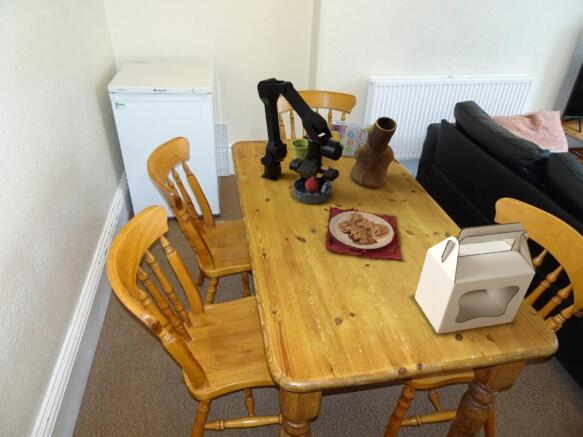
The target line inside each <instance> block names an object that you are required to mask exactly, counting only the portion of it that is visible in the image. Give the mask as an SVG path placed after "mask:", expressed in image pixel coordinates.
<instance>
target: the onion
mask: <svg viewBox="0 0 583 437" xmlns="http://www.w3.org/2000/svg"><path fill="white" fill-rule="evenodd" d="M316 177H317V176H316ZM316 177H315V176H312V177H311V178H310V179H308V180H307V181H306V183H305V188H306V190H307V191H308V192H310V193H311V194H314V193H315V192H317V191H318V190H319V180H318V179H317V178H316Z"/></svg>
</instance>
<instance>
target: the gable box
mask: <svg viewBox="0 0 583 437" xmlns="http://www.w3.org/2000/svg"><path fill="white" fill-rule="evenodd" d="M523 226H524V225H523V223H522V222H521V221H516V222H506V223H497V224H488V225H487V224H486V225H478V226H469V227H462V228H461V229H460V231H459V233H458V234H457V237H455V236H449V237H447V238H445V239H443V240H442V241H440V242H439V243H436V244H435V245H433V246H432V247H430V248H428V249H427V250H426V254H425V259H424V262H423V265H422V269H421V273H420V277H419V280H418V284H417V287H416V291H415V296H414V299H415V301H416V302H417V304H418V305H419V306H420V309H421V310H422V311H423V313H424V315H425V316H426V318H427V319H428V321H429V323H430V324H431V326H432V328H433V329H434V330H435V332H436V334H445V333H451V332H457V331H463V330H465V331H466V330H470V329H477V328H482V327H489V326H495V325H501V324H507V323H512V322H513V320H514V318H515V316H516V315H517V312H518V310H519V308H520V307H521V306H520V305H521V304H522V301H523V299H524V297H525V296H526V293H527V292H528V289H529V287H530V285H531V283H532V281H533V278H534V276H535V275H536V268H535V265H534V262H533V258H532V254H531V250H530V247H529V243H528V239H527V238H528V235H529V232H528V231H527V230H526V229H524V230H523ZM443 260H444V261H443Z"/></svg>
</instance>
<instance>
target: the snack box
mask: <svg viewBox="0 0 583 437" xmlns="http://www.w3.org/2000/svg"><path fill="white" fill-rule="evenodd" d="M372 124H373V123H364V122H363V123H362V122H353V121H344V120H335V119H334V120H332V121H331V124H330V132H331V134H332V136H333V137H332V138H330V139H331V140H334V141H338V142H340V145H341V146H342V149H343V152H342V155H341V157H350V158H355V157H354V153H355V151H356V150H357V148H358V147H360V146H361V145H362V144H364V143H366V141H367V138H368V131H369V128H370V126H371V125H372Z"/></svg>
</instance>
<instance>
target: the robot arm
mask: <svg viewBox="0 0 583 437" xmlns="http://www.w3.org/2000/svg"><path fill="white" fill-rule="evenodd" d="M256 89H257V90H256V91H257V94H258V97H259V100H260V101H261V102H262V104H263V107H264V115H265V122H266V124H265V125H266V132H267V144H266V146H265V155H264V156H262V157H261V158H260V164H261V165H263V167H264V168H263V172H264V173H263V174H262V175H261V177H262V178H264V179H268V180H271V181H275V182H276V181H277V180H278V179H279V178H281V177H282V176H283V175H284V174H283V172H282V171H283V167H282V162H284V160H285V159H286V158H287V155H288V152H289V151H288V145H287V143H284V141H283V140H282V138H281V127H280V117H279V109H278V108H279V107H278V101H279V99H280V96H282V97H283V98H284V99H285V100H286V102H287V103H288V104H289V105H290V107H291V108H292V109H293V111H294V112H295V113H296V115H297V116H298V117H299V118H300V121H301V125H302V128H303V129H304V131H305V133H306V134H304V136H302V139H305V140H308V146H307V155H306V156H305V160H302V159H299V158H296V159H294V158H293V160H292V161H290V162H289V164H288V169H289V170H290V171H294V173H296V174H298V175H299V178H301V179H302V182H303V185H304V187H305V183H306V181H307V179H310V178H311V177H312V176H315V177H317V175H318V174H320V176H319V177H320V178H319V181H320V182H319V192H320V191H321V189H322V188H323V186H324V184H325V182H326V181H329V182H330V183H331V182H332V183H333V182H334V181H335V180H337V178H338V177H339V176H340V171H339V169H337V168H334V167H328V168H327V169H324V168H323V167H324V163H323V158H326V159H328V160H331V161H334V162H338V161H339V160H340V159H341V158H342V156H341V155H342V152H343V149H342V146H341V145H340V142H338V141H334V140H331V139H330V138H332V137H333V136H332V134H331V128H330V127H329V126H328V125H329V124H328V121H327V120H326V118H325V117H323V116H322V115H321V114H320V113H318V112H316V111H314V110H313V109H312V108H311V107H310V105H309V104H308V103H307V101H306V100H305V99H304V98H303V96H302V95H301V94H300V93H299V92H298V91H297V89H296V87H294V84H293V83H292V82H291V81H289V80H284V79H281V80H280V79H277V78H275V77H270V78H266V79H262V80H260V81H258V84H257V85H256Z"/></svg>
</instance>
